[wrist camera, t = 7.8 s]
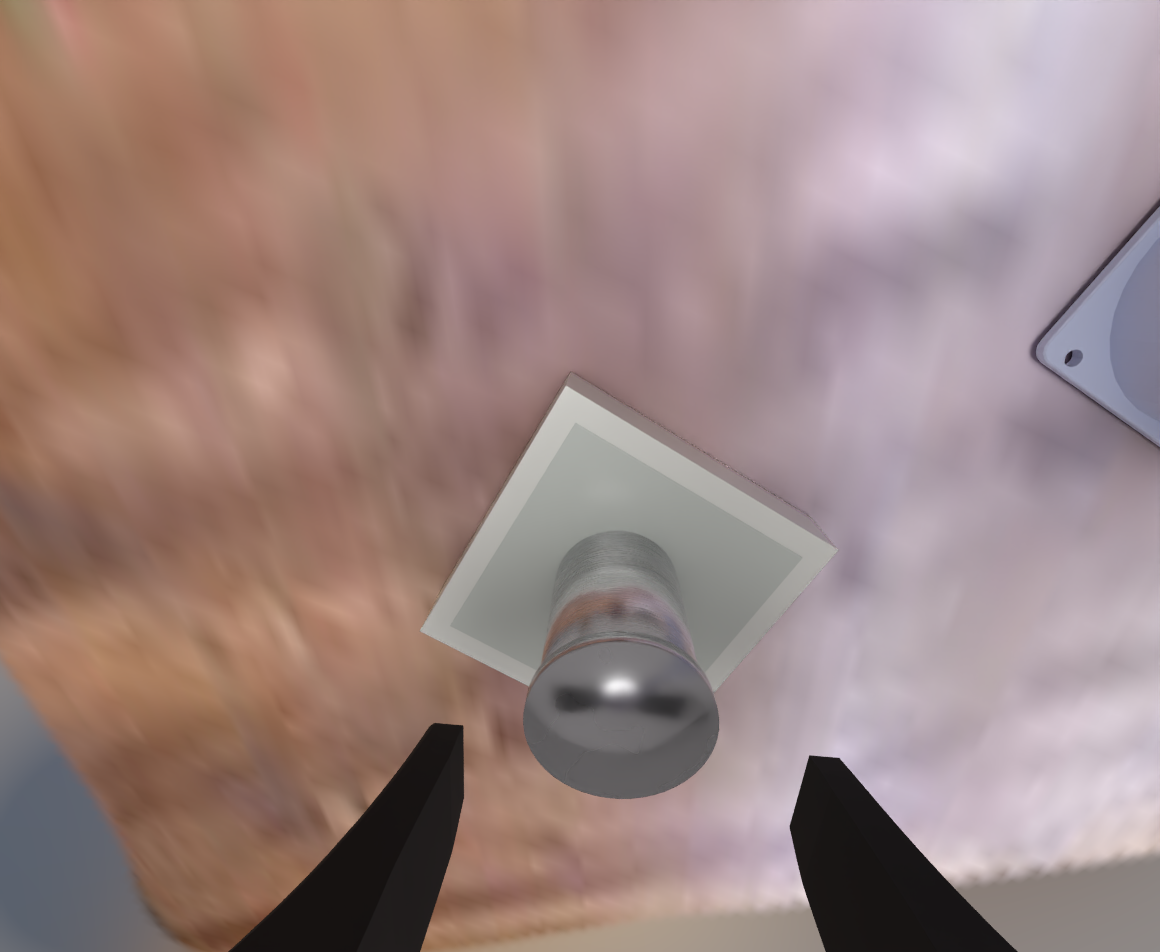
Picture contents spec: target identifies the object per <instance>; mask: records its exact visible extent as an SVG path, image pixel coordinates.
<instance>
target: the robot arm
mask: <svg viewBox="0 0 1160 952" xmlns="http://www.w3.org/2000/svg"><path fill="white" fill-rule="evenodd" d="M1070 351H1072V358H1071V360H1070V361H1069V362H1068V363H1066V364H1065V363H1064V362H1065V357H1066V355H1067V354H1068V353H1069V352H1070ZM1036 355H1037V358H1038V360H1039V361H1040V362H1041V363H1042V364H1044V365H1045V366H1047V367H1048V368H1049V369H1051V370H1052V371H1054V372H1055V373H1056V374H1058V375H1059V376H1061V377H1062V378H1064V379H1065V380H1066V381H1068V382H1069V383H1071V384H1072V385H1073V386H1075V387H1076V388H1078V389H1079V390H1080V391H1082V392H1083V393H1085V394H1086V395H1087V396H1089V397H1090V398H1092V399H1093V400H1094V401H1096V402H1097V403H1099V404H1100V405H1101V406H1103V407H1104V408H1106V409H1107V410H1108V411H1110V412H1111V413H1113V414H1114V415H1115V416H1117V417H1118V418H1120V419H1121V420H1122V421H1124V422H1125V423H1127V424H1128V425H1129V426H1131V427H1132V428H1134V429H1135V430H1136V431H1138V432H1139V433H1141V434H1142V435H1143V436H1145V437H1146V438H1148V439H1149V440H1151V441H1152V442H1153V443H1155V444H1156V445H1158V446H1159V447H1160V206H1159V207H1158V209H1157V210H1156V211H1155V212H1154V213H1153V214H1152V215H1151V216H1150V218H1149V219H1148V220H1147V221H1146V222H1145V223H1144V224H1143V225H1142V227H1141V228H1140V229H1139V230H1138V231H1137V232H1136V233H1135V235H1134V236H1133V237H1132V238H1131V239H1130V240H1129V241H1128V242H1127V244H1126V245H1125V246H1124V247H1123V248H1122V249H1121V250H1120V251H1119V253H1118V254H1117V255H1116V256H1115V257H1114V258H1113V259H1112V260H1111V262H1110V263H1109V264H1108V265H1107V266H1106V267H1105V268H1104V270H1103V271H1102V272H1101V273H1100V274H1099V275H1098V276H1097V277H1096V279H1095V280H1094V281H1093V282H1092V283H1091V284H1090V285H1089V286H1088V288H1087V289H1086V290H1085V291H1084V292H1083V293H1082V294H1081V295H1080V297H1079V298H1078V299H1077V300H1076V301H1075V302H1074V303H1073V305H1072V306H1071V307H1070V308H1069V309H1068V310H1067V311H1066V312H1065V314H1064V315H1063V316H1062V317H1061V318H1060V319H1059V320H1058V321H1057V323H1056V324H1055V325H1054V326H1053V327H1052V328H1051V329H1050V330H1049V332H1048V333H1047V334H1046V335H1045V336H1044V337H1043V338H1042V339H1041V341H1040V342H1039V344H1038V346H1037V350H1036ZM463 799H464V753H463V725H451V724H440V723H434V724H433V725H431V726H430V727H429V728H428V730H427V731H426V733H425V734H424V735H423V737H422V738H421V740H420V741H419V743H418V744H417V746H416V747H415V748H414V750H413V751H412V753H411V754H410V755H409V757H408V758H407V759H406V761H405V762H404V763H403V765H402V766H401V767H400V769H399V770H398V771H397V773H396V774H395V775H394V777H393V778H392V779H391V781H390V782H389V783H388V784H387V786H386V787H385V788H384V789H383V790H382V792H381V793H380V794H379V795H378V797H377V798H376V799H375V800H374V802H373V803H372V804H371V805H370V807H369V808H368V809H367V810H366V811H365V813H364V814H363V815H362V816H361V817H360V819H359V820H358V821H357V822H356V823H355V824H354V825H353V827H352V828H351V829H350V830H349V831H348V832H347V833H346V834H345V836H344V837H343V838H342V839H341V840H340V841H339V842H338V843H337V845H336V846H335V847H334V848H333V849H332V850H331V851H330V853H329V854H328V855H327V856H326V857H325V858H324V859H323V860H322V861H321V862H320V863H319V864H318V865H317V867H316V868H315V869H314V870H313V871H312V872H311V873H310V874H309V875H308V876H307V877H306V878H305V879H304V880H303V881H302V882H301V883H300V884H299V885H298V886H297V887H296V888H295V889H294V890H293V891H292V892H291V893H290V894H289V895H288V896H287V897H286V898H285V899H284V900H283V901H282V902H281V903H280V904H279V905H278V906H277V907H276V908H275V909H274V910H273V911H272V912H271V913H270V914H269V915H268V916H266V917H265V918H264V919H263V920H262V921H261V922H260V923H259V924H258V925H257V926H256V927H255V928H254V929H252V930H251V931H250V932H249V933H248V934H247V935H246V936H245V937H244V938H243V939H242V940H241V941H240V942H239V943H237V944H236V945H235V946H234V947H233V948H232V949H231V950H230V951H228V952H420V950H421V947H422V944H423V941H424V938H425V935H426V932H427V929H428V926H429V922H430V919H431V916H432V913H433V910H434V907H435V904H436V901H437V898H438V895H439V891H440V888H441V885H442V882H443V879H444V876H445V873H446V869H447V866H448V863H449V860H450V857H451V854H452V850H453V845H454V841H455V836H456V832H457V827H458V823H459V818H460V813H461V809H462V804H463ZM790 831H791V835H792V840H793V844H794V849H795V854H796V858H797V862H798V866H799V870H800V875H801V879H802V883H803V886H804V889H805V892H806V895H807V898H808V901H809V904H810V907H811V910H812V913H813V916H814V919H815V922H816V925H817V928H818V931H819V933H820V936H821V939H822V942H823V945H824V948H825V951H826V952H1017V951H1016V950H1015V949H1014V948H1013V947H1012V946H1011V945H1010V944H1009V943H1008V942H1007V941H1006V940H1005V939H1004V938H1003V937H1002V936H1001V935H1000V934H999V933H998V932H997V931H996V930H994V929H993V927H992V926H991V925H990V924H988V922H987V921H985V919H984V918H983V917H982V916H981V915H980V914H979V913H978V912H977V911H976V910H975V909H974V908H973V907H972V906H971V905H970V904H969V903H968V902H967V901H966V900H965V899H964V898H963V897H962V896H961V895H960V894H959V893H958V892H957V891H956V890H955V889H954V887H953V886H952V885H951V884H950V883H949V882H948V881H947V880H946V879H945V878H944V877H943V876H942V875H941V874H940V872H939V871H938V870H937V869H936V868H935V867H934V866H933V865H932V864H931V863H930V862H929V861H928V859H927V858H926V857H925V856H924V855H923V854H922V853H921V852H920V851H919V849H918V848H917V847H916V846H915V845H914V844H913V843H912V842H911V841H910V839H909V838H908V837H907V836H906V835H905V834H904V833H903V831H902V830H901V829H900V828H899V827H898V826H897V825H896V823H895V822H894V821H893V820H892V819H891V818H890V817H889V815H888V814H887V813H886V812H885V811H884V810H883V808H882V807H881V806H880V805H879V804H878V803H877V801H876V800H875V799H874V798H873V797H872V796H871V794H870V793H869V792H868V791H867V790H866V789H865V787H864V786H863V785H862V784H861V783H860V782H859V780H858V779H857V778H856V777H855V776H854V775H853V773H852V772H851V771H850V770H849V769H848V768H847V766H846V765H845V764H844V763H843V762H842V761H841V760H840V758H833V757H821V756H810V755H809V759H808V762H807V766H806V770H805V773H804V777H803V780H802V784H801V788H800V791H799V795H798V798H797V802H796V806H795V809H794V813H793V816H792V820H791V824H790Z"/></svg>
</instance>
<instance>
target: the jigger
mask: <svg viewBox="0 0 1160 952" xmlns="http://www.w3.org/2000/svg"><path fill="white" fill-rule="evenodd" d="M523 725H524V733H525V736H526V740H527V743H528V745H529V747H530V749H531V751H532V753H533V755H534V756H535V758H536V759H537V761H538V762H539V763H540V764H541V765H542V766H543V767H544V769H545V770H547V771H548V772H549V773H550V774H551V775H552V776H554V777H555V778H556V779H558V780H559V781H561V782H562V783H564V784H566V785H568V786H570V787H572V788H574V789H576V790H579V791H581V792H584V793H588V794H591V795H595V796H600V797H605V798H615V799H632V798H641V797H647V796H651V795H655V794H659V793H662V792H665V791H667V790H669V789H672V788H674V787H676V786H678V785H680V784H681V783H683V782H685V781H686V780H688V779H689V778H690V777H691V776H693V775H694V774H695V773H696V772H697V771H698V770H699V769H700V768H701V767H702V766H703V765H704V764H705V762H706V761H707V760H708V758H709V757H710V755H711V753H712V751H713V749H714V747H715V744H716V741H717V737H718V732H719V715H718V709H717V705H716V701H715V697H714V693H713V690H712V687H711V684H710V682H709V680H708V678H707V676H706V674H705V673H704V671H703V670H702V668H701V667H700V666H699V664H698V663H697V659H696V655H695V651H694V647H693V642H692V638H691V634H690V629H689V625H688V621H687V617H686V612H685V608H684V604H683V600H682V595H681V591H680V587H679V582H678V578H677V574H676V571H675V568H674V565H673V563H672V561H671V559H670V558H669V556H668V555H667V553H666V552H665V551H664V550H663V549H662V548H661V547H660V546H658V545H657V544H656V543H655V542H653V541H651V540H650V539H648V538H646V537H644V536H642V535H639V534H636V533H632V532H627V531H606V532H600V533H597V534H594V535H591V536H589V537H586V538H584V539H583V540H581V541H579V542H578V543H577V544H575V545H574V546H573V547H572V548H571V549H570V550H569V551H568V552H567V553H566V555H565V556H564V557H563V559H562V561H561V563H560V565H559V567H558V570H557V574H556V580H555V585H554V591H553V597H552V603H551V609H550V615H549V620H548V626H547V632H546V638H545V644H544V650H543V655H542V661H541V665H540V666H539V668H538V669H537V671H536V672H535V674H534V676H533V678H532V680H531V683H530V685H529V688H528V693H527V698H526V704H525V709H524V715H523Z"/></svg>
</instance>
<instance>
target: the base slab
mask: <svg viewBox="0 0 1160 952" xmlns="http://www.w3.org/2000/svg"><path fill="white" fill-rule="evenodd" d="M606 531H627V532H632V533H636V534H639V535H642V536H644V537H646V538H648V539H650V540H651V541H653V542H655V543H656V544H657V545H658V546H660V547H661V548H662V549H663V550H664V551H665V552H666V553H667V555H668V556H669V558H670V559H671V561H672V563H673V565H674V568H675V571H676V574H677V578H678V582H679V587H680V591H681V595H682V600H683V604H684V608H685V612H686V617H687V621H688V625H689V629H690V634H691V638H692V642H693V647H694V651H695V655H696V659H697V663H698V664H699V666H700V667H701V668H702V670H703V671H704V673H705V674H706V676H707V678H708V680H709V682H710V684H711V687H712V690H713V693H714V692H715V691H716V690H717V689H718V688H719V687H720V685H721V684H722V683H723V682H724V681H725V680H726V679H727V677H728V676H729V675H730V674H731V673H732V672H733V670H734V669H735V668H736V667H737V666H738V665H739V664H740V662H741V661H742V660H743V659H744V658H745V657H746V656H747V654H748V653H749V652H750V651H751V650H752V649H753V648H754V646H755V645H756V644H757V643H758V642H759V641H760V640H761V638H762V637H763V636H764V635H765V634H766V633H767V632H768V630H769V629H770V628H771V627H772V626H773V625H774V624H775V622H776V621H777V620H778V619H779V618H780V617H781V616H782V614H783V613H784V612H785V611H786V610H787V609H788V608H789V606H790V605H791V604H792V603H793V602H794V601H795V600H796V598H797V597H798V596H799V595H800V594H801V593H802V592H803V590H804V589H805V588H806V587H807V586H808V585H809V583H810V582H811V581H812V580H813V579H814V578H815V577H816V575H817V574H818V573H819V572H820V571H821V570H822V569H823V567H824V566H825V565H826V564H827V563H828V562H829V561H830V559H831V558H832V557H833V556H834V555H835V554H836V553H837V551H838V549H837V547H836V546H835V545H834V544H833V543H832V542H831V541H830V539H829V538H828V537H827V536H826V535H825V534H824V532H823V531H822V530H821V529H820V528H819V527H818V525H817V524H816V523H815V522H814V521H813V520H812V518H811V517H809V516H807V515H806V514H804V513H803V512H801V511H799V510H798V509H796V508H794V507H793V506H791V505H789V504H788V503H786V502H784V501H783V500H781V499H780V498H778V497H776V496H775V495H773V494H771V493H770V492H768V491H766V490H765V489H763V488H761V487H760V486H758V485H757V484H755V483H753V482H752V481H750V480H748V479H747V478H745V477H743V476H742V475H740V474H738V473H737V472H735V471H733V470H732V469H730V468H729V467H727V466H725V465H724V464H722V463H720V462H719V461H717V460H715V459H714V458H712V457H710V456H709V455H707V454H706V453H704V452H702V451H701V450H699V449H697V448H696V447H694V446H692V445H691V444H689V443H687V442H686V441H684V440H683V439H681V438H679V437H678V436H676V435H674V434H673V433H671V432H669V431H668V430H666V429H664V428H663V427H661V426H660V425H658V424H656V423H655V422H653V421H651V420H650V419H648V418H646V417H645V416H643V415H641V414H640V413H638V412H636V411H635V410H633V409H632V408H630V407H628V406H627V405H625V404H623V403H622V402H620V401H618V400H617V399H615V398H613V397H612V396H610V395H609V394H607V393H605V392H604V391H602V390H600V389H599V388H597V387H595V386H594V385H592V384H590V383H589V382H587V381H586V380H584V379H582V378H581V377H579V376H577V375H576V374H574V373H572V372H570V374H569V375H568V377H567V379H566V380H565V382H564V384H563V385H562V387H561V389H560V390H559V392H558V394H557V396H556V397H555V399H554V401H553V402H552V404H551V406H550V407H549V409H548V411H547V412H546V414H545V416H544V417H543V419H542V421H541V423H540V424H539V426H538V428H537V429H536V431H535V433H534V434H533V436H532V438H531V439H530V441H529V443H528V444H527V446H526V448H525V450H524V451H523V453H522V455H521V456H520V458H519V460H518V461H517V463H516V465H515V466H514V468H513V470H512V471H511V473H510V475H509V477H508V478H507V480H506V482H505V483H504V485H503V487H502V488H501V490H500V492H499V493H498V495H497V497H496V498H495V500H494V502H493V504H492V505H491V507H490V509H489V510H488V512H487V514H486V515H485V517H484V519H483V520H482V522H481V524H480V525H479V527H478V529H477V531H476V532H475V534H474V536H473V537H472V539H471V541H470V542H469V544H468V546H467V547H466V549H465V551H464V552H463V554H462V556H461V558H460V559H459V561H458V563H457V564H456V566H455V568H454V569H453V571H452V573H451V574H450V576H449V578H448V579H447V581H446V583H445V585H444V586H443V588H442V590H441V591H440V593H439V595H438V597H437V599H436V601H435V603H434V605H433V607H432V609H431V610H430V612H429V614H428V616H427V618H426V620H425V622H424V624H423V626H422V628H421V630H420V632H422V633H424V634H426V635H428V636H430V637H432V638H434V639H436V640H438V641H440V642H442V643H444V644H446V645H448V646H450V647H452V648H454V649H456V650H458V651H460V652H462V653H464V654H466V655H468V656H470V657H472V658H474V659H476V660H478V661H480V662H482V663H484V664H486V665H488V666H490V667H492V668H494V669H495V670H497V671H499V672H501V673H503V674H505V675H507V676H509V677H511V678H513V679H515V680H517V681H519V682H521V683H523V684H525V685H527V686H529V685H530V683H531V680H532V678H533V676H534V674H535V672H536V671H537V669H538V668H539V666H540V665H541V661H542V655H543V650H544V644H545V638H546V632H547V626H548V620H549V615H550V609H551V603H552V597H553V591H554V585H555V580H556V574H557V570H558V567H559V565H560V563H561V561H562V559H563V557H564V556H565V555H566V553H567V552H568V551H569V550H570V549H571V548H572V547H573V546H574V545H575V544H577V543H578V542H579V541H581V540H583V539H584V538H586V537H589V536H591V535H594V534H597V533H600V532H606Z"/></svg>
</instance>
